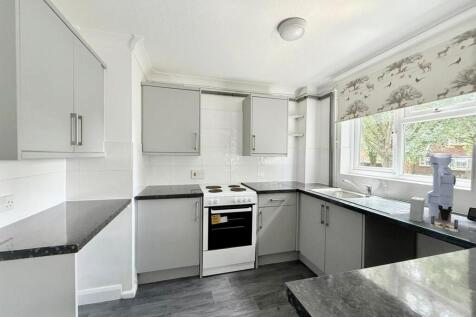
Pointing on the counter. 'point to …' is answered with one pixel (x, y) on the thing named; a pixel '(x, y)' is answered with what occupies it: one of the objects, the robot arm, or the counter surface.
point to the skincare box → (417, 209)
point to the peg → (444, 226)
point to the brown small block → (444, 220)
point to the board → (446, 227)
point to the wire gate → (446, 225)
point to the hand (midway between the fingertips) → (444, 219)
